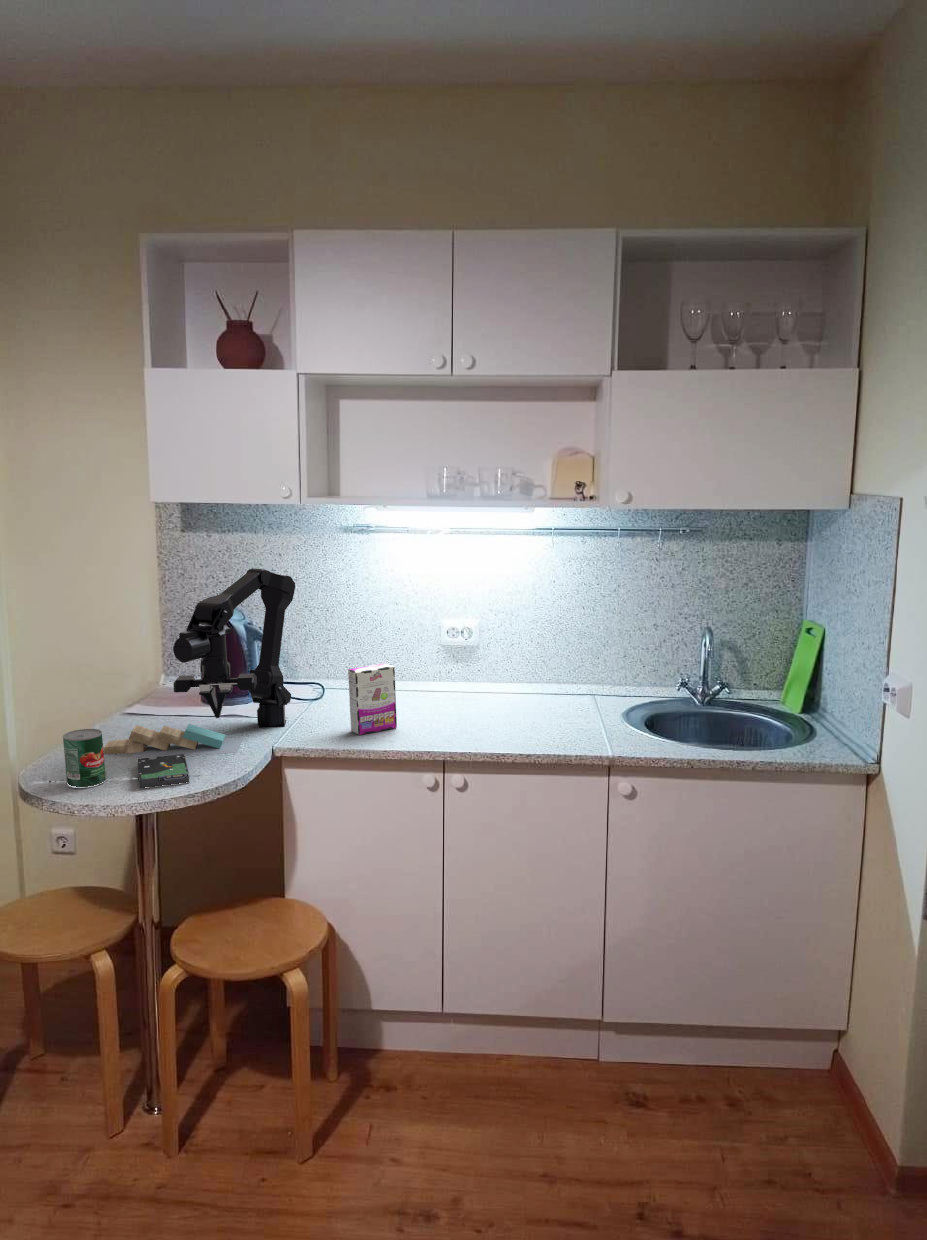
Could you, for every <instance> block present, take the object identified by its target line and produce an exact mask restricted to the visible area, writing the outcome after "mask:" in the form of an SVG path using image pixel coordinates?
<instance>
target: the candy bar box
mask: <svg viewBox="0 0 927 1240" xmlns="http://www.w3.org/2000/svg"><path fill="white" fill-rule="evenodd" d="M395 671H396V670H395V665H392V664H389V663H379V664H372V665H368V666H361V667H355V668H348V669H347V675H348V694H349V695H348V696H349V715H350V716H349V717H350V731H351V732H352V733H354V734H356V735H358V736H362V735H368V734H373V733H374V734H375V733H378V732H382V731H383V732H384V731H387V730H393V729H396V728H398V727H397V725H398V723H397V720H398V719H397V700H396V699H397V698H396V694H397V693H396V673H395Z"/></svg>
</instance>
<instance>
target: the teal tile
mask: <svg viewBox="0 0 927 1240" xmlns="http://www.w3.org/2000/svg"><path fill="white" fill-rule="evenodd" d="M184 731H185V733H184V736H183V738H185V739H188V740H192V741H195V742H199V743H202V744H205V745H209V746H212V747H216V748H219V749H220V748H221V746H222V744H223V742H224V739H225V738H226V734H224V733H220V732H217V731H215V730H210V729H207V728H203V727H201V726H197V725H193V724H188V725H187V727H186V729H185V730H184Z"/></svg>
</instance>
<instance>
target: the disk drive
mask: <svg viewBox="0 0 927 1240" xmlns="http://www.w3.org/2000/svg"><path fill="white" fill-rule="evenodd" d="M137 769H138V782H139V783H138V784H139V789H140V788H145V787H155V786H162V785H171V784H179V783H186V782H189V783H190V774H189V769H188V765H187V760H186V755H184V754H179V755H170V756H156V757H155V758H149V757H143V758H142V757H140V758H138V759H137ZM179 785H180V784H179ZM171 786H172V785H171ZM162 787H163V786H162ZM155 788H156V787H155Z"/></svg>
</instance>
